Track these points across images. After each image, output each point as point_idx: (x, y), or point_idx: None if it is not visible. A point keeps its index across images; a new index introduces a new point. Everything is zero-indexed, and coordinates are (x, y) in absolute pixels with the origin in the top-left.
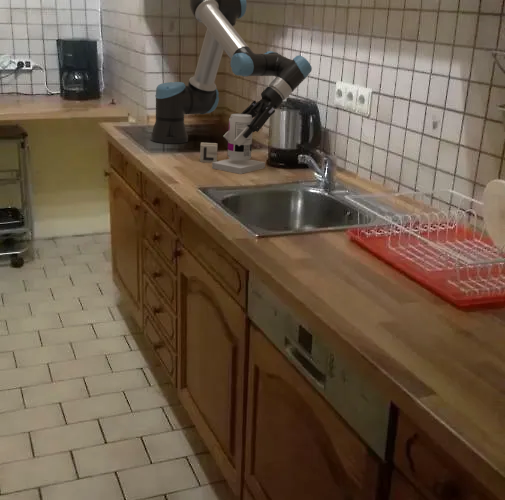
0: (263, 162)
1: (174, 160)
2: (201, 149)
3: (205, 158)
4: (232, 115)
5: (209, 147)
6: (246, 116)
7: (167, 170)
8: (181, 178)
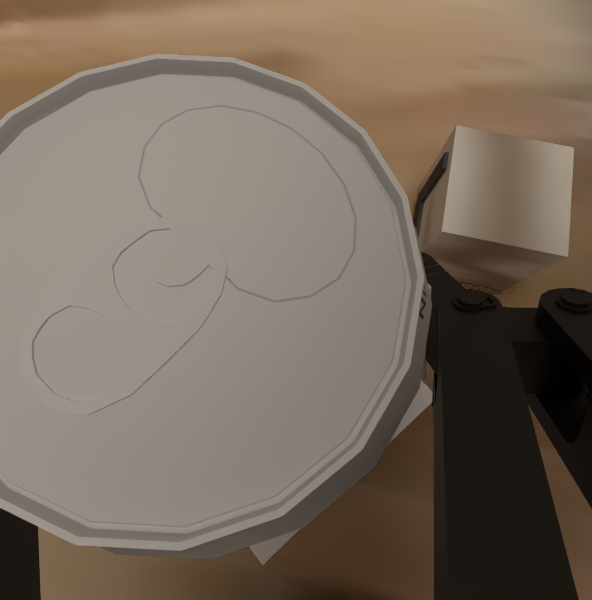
0: (257, 549)
1: (449, 76)
2: (444, 148)
3: (420, 201)
4: (130, 64)
5: (445, 186)
6: (25, 362)
7: (219, 18)
8: (53, 47)
